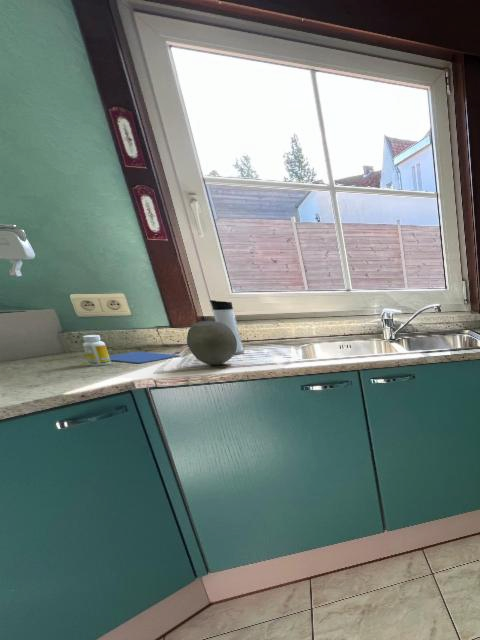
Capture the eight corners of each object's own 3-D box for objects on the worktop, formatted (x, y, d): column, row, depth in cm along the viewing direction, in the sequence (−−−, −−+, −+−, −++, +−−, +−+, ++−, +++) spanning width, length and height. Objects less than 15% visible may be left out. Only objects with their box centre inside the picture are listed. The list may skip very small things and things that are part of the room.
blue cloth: (96, 359, 173) (95, 358, 173) (139, 352, 186) (139, 351, 186) (139, 363, 169) (138, 362, 169) (180, 356, 182) (180, 355, 182)
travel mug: (219, 354, 187) (205, 300, 180) (236, 351, 193) (223, 298, 185) (230, 355, 185) (216, 301, 178) (247, 353, 191) (235, 299, 183)
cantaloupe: (182, 368, 165) (168, 322, 159) (217, 359, 178) (206, 317, 172) (220, 370, 164) (208, 324, 158) (252, 362, 177) (242, 319, 171)
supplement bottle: (88, 366, 163) (78, 337, 160) (91, 363, 167) (81, 335, 164) (110, 365, 166) (100, 336, 163) (112, 362, 170) (103, 334, 167)
